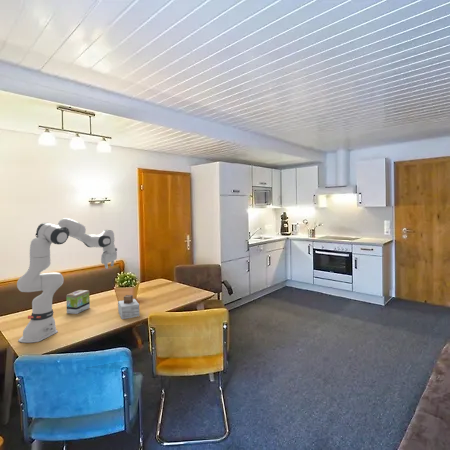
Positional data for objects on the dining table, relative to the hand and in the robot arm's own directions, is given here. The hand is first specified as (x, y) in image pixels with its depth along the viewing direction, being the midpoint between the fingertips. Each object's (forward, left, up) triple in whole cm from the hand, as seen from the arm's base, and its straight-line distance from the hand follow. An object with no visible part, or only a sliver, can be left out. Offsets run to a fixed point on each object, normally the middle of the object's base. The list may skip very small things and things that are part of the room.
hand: (109, 267), depth 237 cm
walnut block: (-10, -19, -25) cm, 33 cm away
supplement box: (-10, -19, -35) cm, 41 cm away
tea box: (-3, +25, -34) cm, 43 cm away
